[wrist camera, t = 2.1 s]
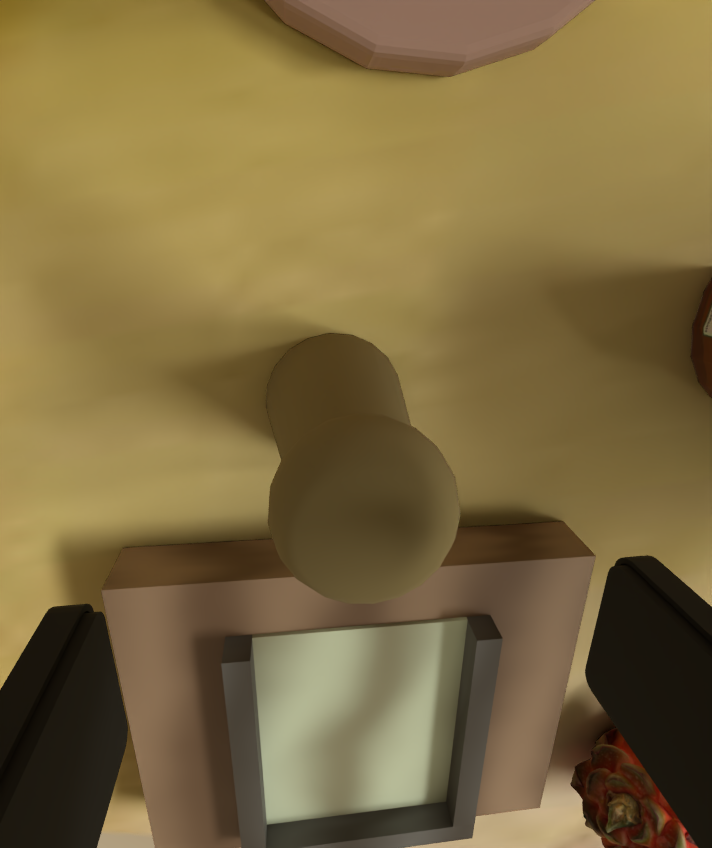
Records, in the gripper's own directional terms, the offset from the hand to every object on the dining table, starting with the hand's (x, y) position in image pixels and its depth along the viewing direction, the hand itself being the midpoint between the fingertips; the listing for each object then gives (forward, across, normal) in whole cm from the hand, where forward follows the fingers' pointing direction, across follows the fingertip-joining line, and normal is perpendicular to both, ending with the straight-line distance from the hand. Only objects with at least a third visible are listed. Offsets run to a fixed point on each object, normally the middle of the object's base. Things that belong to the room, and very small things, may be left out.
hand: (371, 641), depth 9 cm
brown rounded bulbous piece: (+14, -1, 0) cm, 14 cm away
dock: (+14, -2, +16) cm, 21 cm away
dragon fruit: (+14, -21, +24) cm, 35 cm away
